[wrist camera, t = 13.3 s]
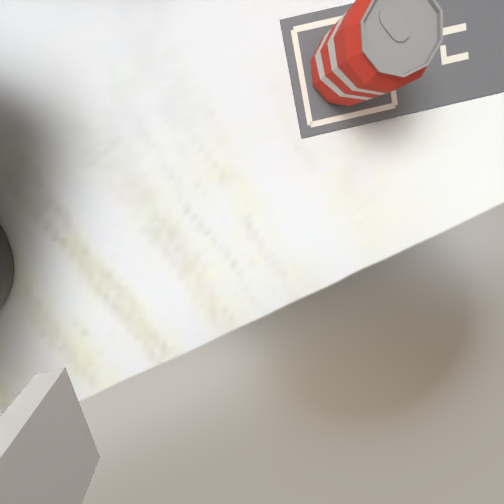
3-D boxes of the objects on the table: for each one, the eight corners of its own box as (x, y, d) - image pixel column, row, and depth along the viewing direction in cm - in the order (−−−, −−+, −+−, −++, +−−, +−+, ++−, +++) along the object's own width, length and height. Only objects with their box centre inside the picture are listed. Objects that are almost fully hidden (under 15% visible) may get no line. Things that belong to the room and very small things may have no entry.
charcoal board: (301, 138, 37) (301, 138, 37) (279, 20, 35) (279, 19, 34) (509, 90, 37) (511, 90, 37) (503, -30, 35) (504, -31, 35)
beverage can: (346, 14, 35) (409, -55, 23) (391, 72, 36) (472, 35, 24) (294, 66, 35) (330, 24, 24) (340, 121, 37) (396, 107, 25)
